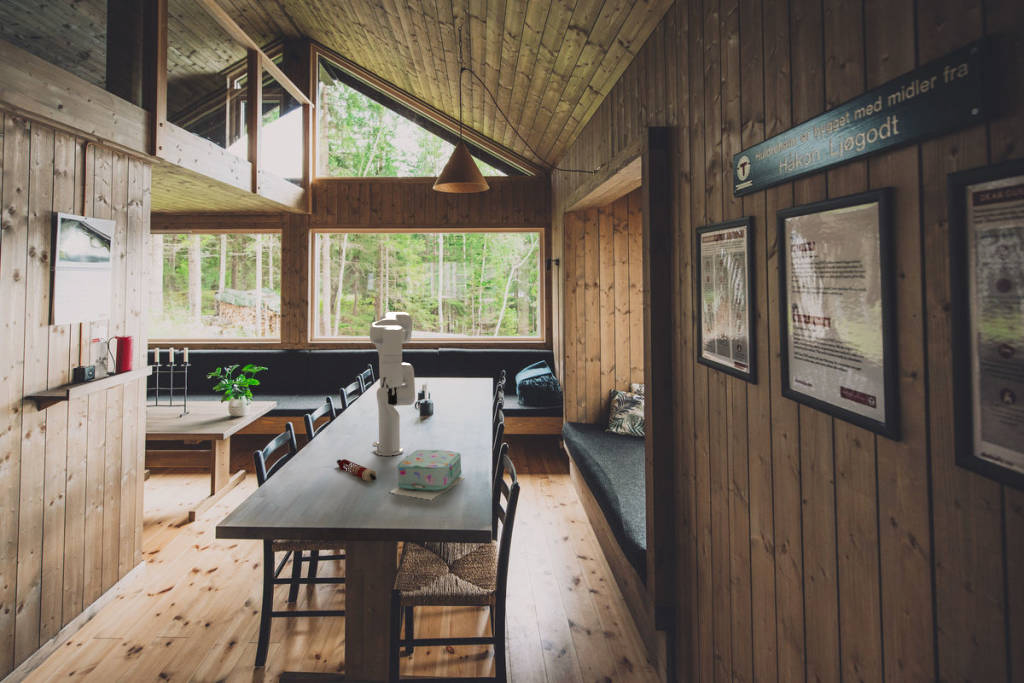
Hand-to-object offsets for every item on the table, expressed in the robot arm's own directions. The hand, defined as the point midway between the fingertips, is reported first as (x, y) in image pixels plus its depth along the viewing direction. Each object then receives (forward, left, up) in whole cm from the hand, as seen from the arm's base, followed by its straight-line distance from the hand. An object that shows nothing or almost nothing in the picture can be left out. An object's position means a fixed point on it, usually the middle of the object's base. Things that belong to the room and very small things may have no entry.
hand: (392, 404), depth 211 cm
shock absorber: (-15, -4, -30) cm, 34 cm away
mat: (+19, -3, -30) cm, 35 cm away
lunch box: (+8, -3, -24) cm, 25 cm away
